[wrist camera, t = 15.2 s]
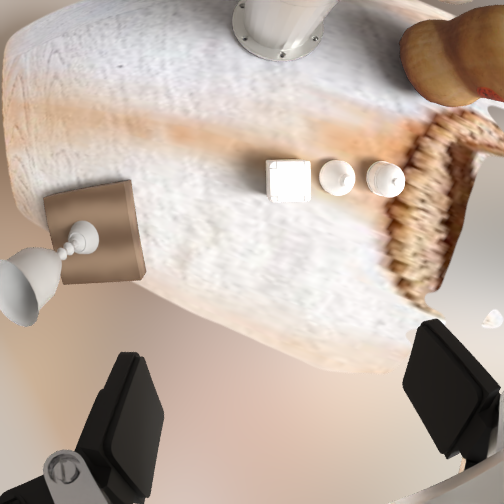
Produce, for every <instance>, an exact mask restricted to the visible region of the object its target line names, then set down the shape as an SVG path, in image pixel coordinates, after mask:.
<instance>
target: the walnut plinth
mask: <svg viewBox="0 0 504 504" xmlns="http://www.w3.org/2000/svg"><path fill="white" fill-rule="evenodd" d="M43 200H44V206H45V212H46V217H47V222H48V227H49V231H50V236H51V240H52V244H53V248H54V251H55V252H57V250H58V249H59V248H63V246H64V244H65V243H66V242H68V236H69V233H70V230H71V228H72V226H73V225H74V224H75V223H76V222H78V221H87V222H89V223H91V224H92V225H93V226H94V227H95V229H96V230H97V233H98V236H99V243H98V247H97V249H96V250H95V251H94V252H93V253H90V254H78V253H75V252H74V253H73V254H72V255H67V258H66V259H65V260H61V261H62V268H61V278H62V282H63V284H64V285H66V284H86V283H103V282H120V281H136V280H141V279H142V278H143V276H144V275H145V273H146V268H145V263H144V258H143V253H142V247H141V242H140V236H139V230H138V224H137V218H136V212H135V205H134V198H133V191H132V183H131V180H127V181H121V182H115V183H109V184H103V185H97V186H92V187H86V188H81V189H76V190H71V191H66V192H61V193H57V194H52V195H50V196H47V197H44V198H43Z"/></svg>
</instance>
